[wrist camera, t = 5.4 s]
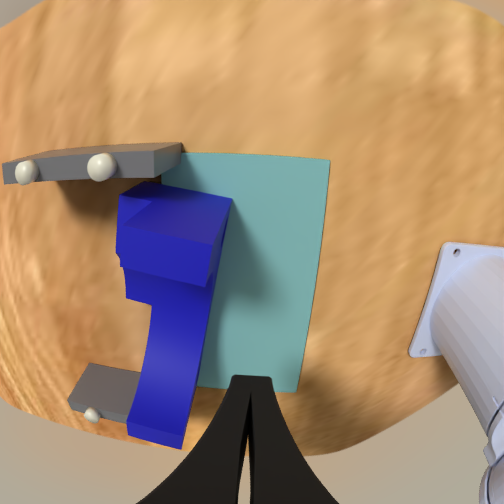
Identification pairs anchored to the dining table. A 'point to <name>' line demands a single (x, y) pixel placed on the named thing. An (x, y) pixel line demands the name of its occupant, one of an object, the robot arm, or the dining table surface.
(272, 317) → the mat
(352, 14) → the dining table surface
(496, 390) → the robot arm
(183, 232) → the blue bent block
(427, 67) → the dining table surface
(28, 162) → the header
